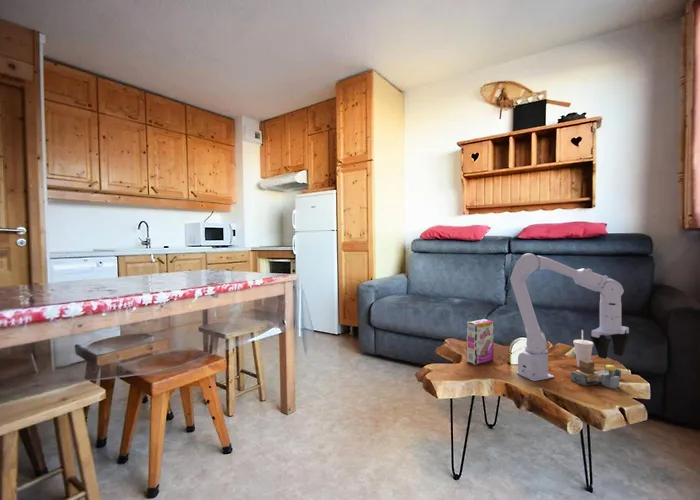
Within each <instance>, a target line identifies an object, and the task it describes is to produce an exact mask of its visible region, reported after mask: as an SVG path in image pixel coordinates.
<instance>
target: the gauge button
mask: <svg viewBox="0 0 700 500" xmlns="http://www.w3.org/2000/svg"><path fill="white" fill-rule="evenodd" d="M605 365H606V370H609V380H610V377H613V371H616V369H617V368H616V366H615V365H612V364H605Z"/></svg>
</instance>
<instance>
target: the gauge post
mask: <svg viewBox="0 0 700 500" xmlns="http://www.w3.org/2000/svg"><path fill="white" fill-rule="evenodd" d="M601 385H602V386H604V387H607V388H610V389H612V390H614V389H620V379H619V377H618V376H614V377H610V380H609V373H607V374H602V383H601Z"/></svg>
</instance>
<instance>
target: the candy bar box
mask: <svg viewBox="0 0 700 500" xmlns="http://www.w3.org/2000/svg"><path fill="white" fill-rule="evenodd" d="M494 323H495V322H494V321H493V320H490V319H486V318H482V319H478V320H472V321H467V322H466V363H469V364H471V365H474V366H479V365H481V364H485V363H488V362H492V361H494V334H495V331H494V329H495V327H494Z"/></svg>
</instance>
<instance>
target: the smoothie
mask: <svg viewBox="0 0 700 500" xmlns="http://www.w3.org/2000/svg"><path fill="white" fill-rule="evenodd" d="M573 345H574V351H575V357H576V365H577V367H578V368H579V360H584V359H587V360H590V361H592V359H591V358H592V353H593V347H594V346H595V344H594V342H593V341H592V340H591V341H590V340H587V339H584V330H583V329H581V339H574V340H573Z"/></svg>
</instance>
